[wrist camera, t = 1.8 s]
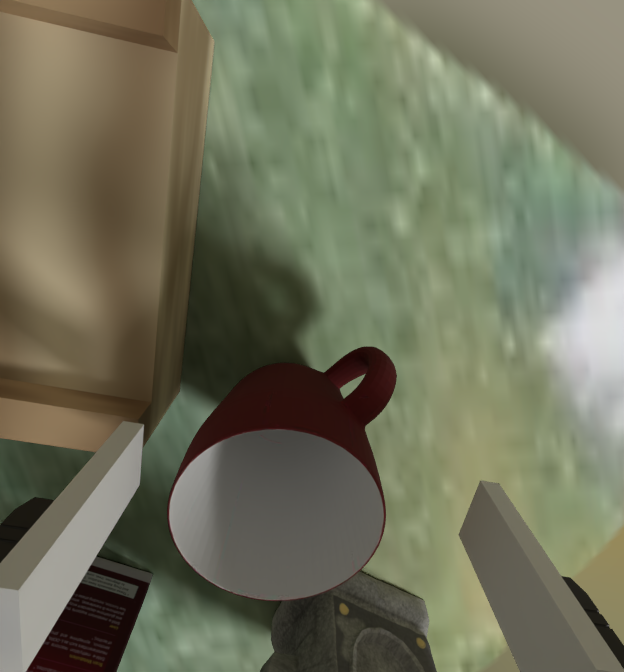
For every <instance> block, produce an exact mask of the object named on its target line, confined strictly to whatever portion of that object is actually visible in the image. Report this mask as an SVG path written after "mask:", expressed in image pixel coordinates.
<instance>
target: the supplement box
mask: <svg viewBox="0 0 624 672" xmlns="http://www.w3.org/2000/svg"><path fill="white" fill-rule="evenodd" d="M152 576H153V574H152V573H149V572H145V571H142V570H139V569H135V568H132V567H129V566H126V565H123V564H119V563H116V562H113V561H110V560H106V559H103V558H100V557H95V559H94V561H93V562H92V564H91V566H90V567H89V569H88V571H87V572H86V574H85V575H84V577H83V579H82V580H81V582H80V584H79V585H78V587H77V589H76V590H75V592H74V593H73V595H72V597H71V598H70V600H69V602H68V603H67V605H66V607H65V608H64V610H63V612H62V613H61V615H60V616H59V618H58V620H57V621H56V623H55V625H54V626H53V628H52V630H51V631H50V633H49V635H48V636H47V638H46V639H45V641H44V643H43V644H42V646H41V648H40V649H39V651H38V653H37V654H36V656H35V658H34V659H33V661H32V662H31V664H30V666H29V667H28V669H27V671H26V672H117V669H118V666H119V664H120V661H121V658H122V656H123V653H124V651H125V648H126V646H127V643H128V640H129V638H130V635H131V632H132V630H133V628H134V625H135V622H136V620H137V617H138V614H139V612H140V609H141V607H142V604H143V601H144V599H145V596H146V593H147V590H148V588H149V585H150V582H151V579H152Z"/></svg>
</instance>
